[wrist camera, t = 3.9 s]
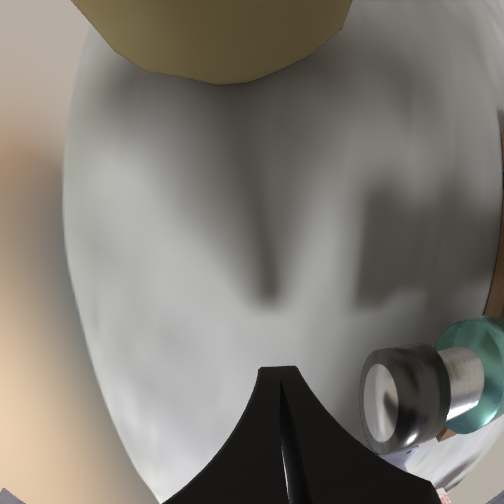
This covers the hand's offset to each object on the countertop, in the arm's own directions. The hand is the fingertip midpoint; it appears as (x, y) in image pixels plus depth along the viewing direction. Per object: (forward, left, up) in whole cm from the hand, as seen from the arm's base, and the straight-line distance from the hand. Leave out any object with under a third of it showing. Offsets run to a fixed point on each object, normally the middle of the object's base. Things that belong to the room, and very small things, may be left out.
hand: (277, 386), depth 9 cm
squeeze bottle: (-2, +14, -3) cm, 14 cm away
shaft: (+11, 0, -1) cm, 11 cm away
